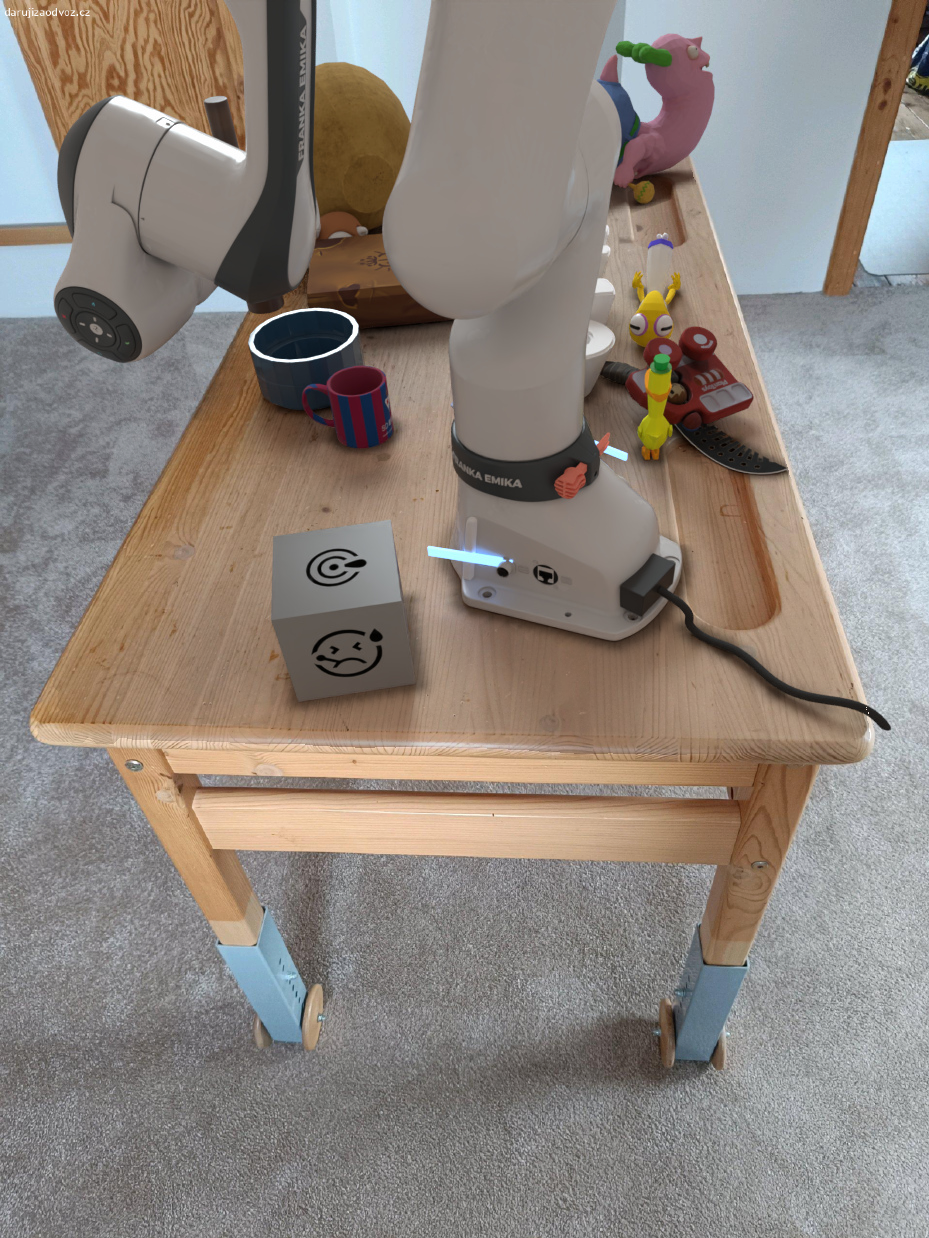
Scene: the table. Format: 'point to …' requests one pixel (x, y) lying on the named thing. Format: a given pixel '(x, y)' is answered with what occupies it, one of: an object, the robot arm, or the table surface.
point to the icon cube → (340, 610)
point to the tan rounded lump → (356, 142)
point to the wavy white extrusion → (599, 324)
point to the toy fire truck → (692, 380)
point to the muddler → (225, 132)
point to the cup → (356, 406)
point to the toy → (680, 118)
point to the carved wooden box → (361, 283)
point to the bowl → (303, 354)
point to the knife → (705, 434)
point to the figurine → (339, 226)
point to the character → (654, 294)
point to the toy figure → (656, 407)
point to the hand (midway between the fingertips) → (240, 187)
